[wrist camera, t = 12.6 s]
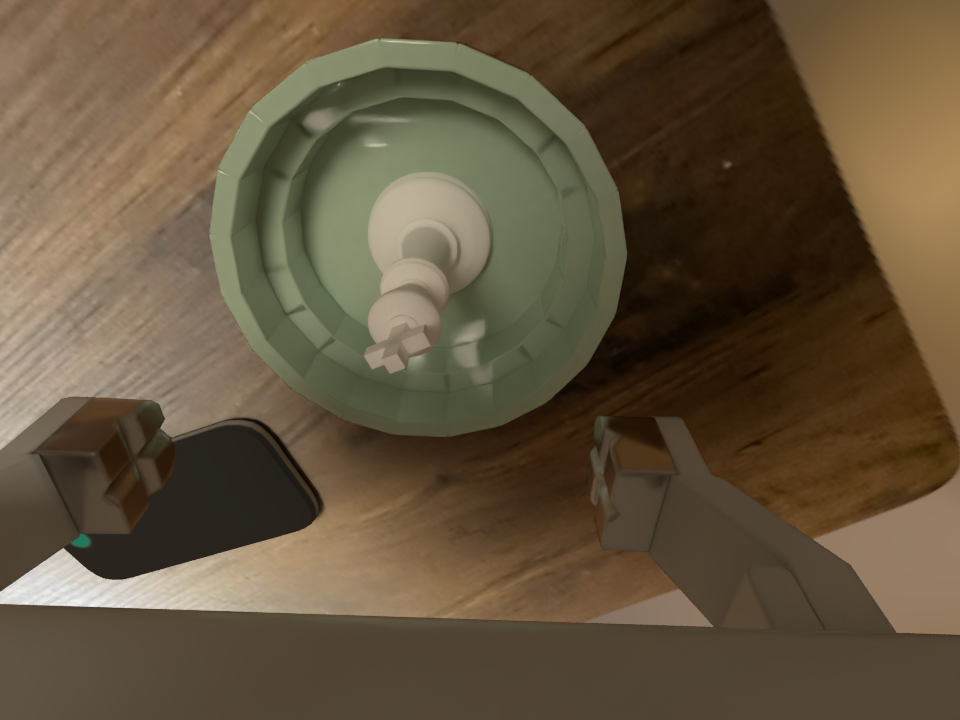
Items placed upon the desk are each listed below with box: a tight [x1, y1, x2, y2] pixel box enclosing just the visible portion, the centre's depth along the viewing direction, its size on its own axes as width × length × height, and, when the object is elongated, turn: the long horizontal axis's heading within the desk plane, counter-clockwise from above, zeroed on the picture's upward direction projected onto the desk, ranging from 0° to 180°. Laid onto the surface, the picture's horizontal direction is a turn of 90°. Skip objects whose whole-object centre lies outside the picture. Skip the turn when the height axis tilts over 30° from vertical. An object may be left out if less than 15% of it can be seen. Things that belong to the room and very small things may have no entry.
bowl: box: [209, 38, 627, 437], centre depth 20 cm, size 13×13×5 cm
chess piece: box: [364, 172, 492, 374], centre depth 17 cm, size 5×5×10 cm
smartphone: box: [64, 420, 319, 580], centre depth 29 cm, size 8×1×15 cm
